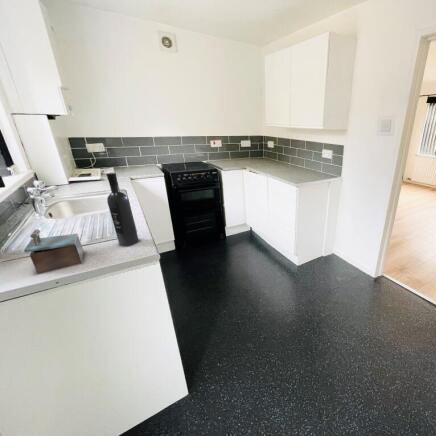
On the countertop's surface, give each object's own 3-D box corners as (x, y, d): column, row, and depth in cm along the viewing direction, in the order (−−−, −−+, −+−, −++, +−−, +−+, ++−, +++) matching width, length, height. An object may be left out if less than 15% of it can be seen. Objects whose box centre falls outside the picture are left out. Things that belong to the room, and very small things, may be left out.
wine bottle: (128, 248, 100) (109, 175, 90) (118, 246, 102) (98, 174, 92) (140, 242, 105) (123, 172, 95) (130, 240, 107) (112, 172, 97)
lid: (24, 252, 78) (20, 238, 77) (32, 241, 86) (28, 228, 85) (75, 245, 85) (72, 231, 84) (77, 235, 94) (75, 223, 92)
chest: (38, 275, 82) (29, 254, 79) (44, 262, 90) (36, 243, 87) (82, 264, 88) (75, 245, 86) (84, 253, 96) (78, 235, 94)
